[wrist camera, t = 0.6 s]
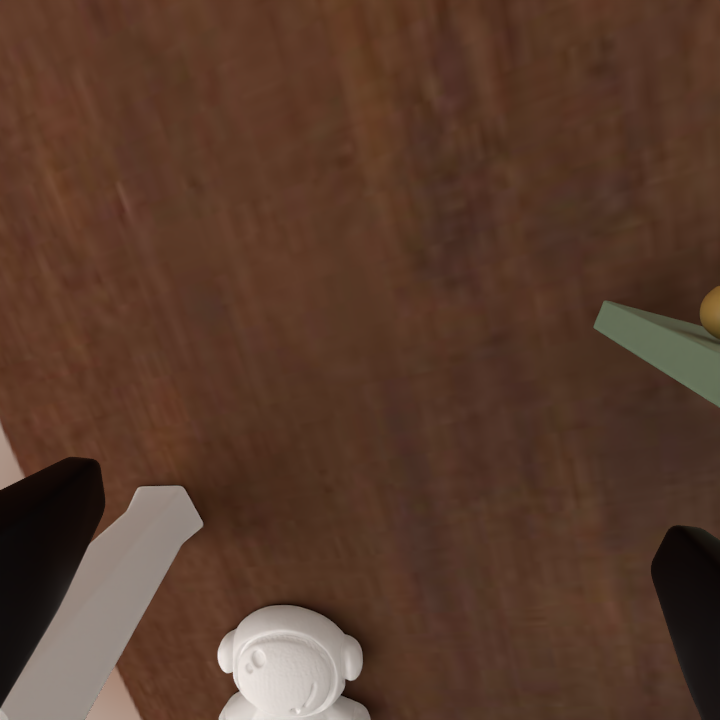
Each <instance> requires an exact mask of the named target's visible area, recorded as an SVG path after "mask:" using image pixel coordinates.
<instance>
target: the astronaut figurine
mask: <svg viewBox="0 0 720 720" xmlns="http://www.w3.org/2000/svg"><path fill="white" fill-rule="evenodd" d="M218 662H219V665H220V667H221V668H222V670H223V671H224V672H225V673H231V672H233V678H234V681H235V683H236V685H237V687H238V689H239V690H240V691H239V692H237V693H236V694H234V695H233V696H232V697H231V698H230V699H229V701H228V702H227V704H226V705H225V707H224V708H223V710H222V712H221V714H220V716H219V720H371V718H370V715H369V713H368V710H367V709H366V707H365V706H363V705H362V704H360V703H358V702H356V701H354V700H351V699H349V698H346V697H344V696H341V693H342V692H343V690H344V688H345V679H347V680H349V681H352V680H355V679H356V678H357V677H358V676H359V674H360V672H361V669H362V665H363V655H362V649H361V646H360V644H359V643H358V641H357V640H356V639H354V638H353V637H352V636H350V635H346V634H344V633H343V632H342V630H341V629H340V628H339V627H338V626H337V625H336V624H334V623H333V622H332V621H331V620H329V619H328V618H326V617H325V616H323V615H321V614H319V613H317V612H314V611H311V610H309V609H305V608H302V607H299V606H293V605H274V606H268V607H265V608H262V609H259V610H257V611H255V612H253V613H251V614H250V615H249V616H247V617H246V618H245V619H244V620H243V621H242V622H241V623H240V624H239V626H238V628H237V629H235V630H233V631H231V632H229V633H228V634H226V635H225V637H224V638H223V640H222V642H221V644H220V646H219V649H218Z"/></svg>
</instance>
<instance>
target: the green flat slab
mask: <svg viewBox="0 0 720 720" xmlns="http://www.w3.org/2000/svg"><path fill="white" fill-rule="evenodd" d="M700 320H701V323H702V325H703V326H699V325H696V324H692V323H688V322H684V321H681V320H677V319H673V318H669V317H666V316H662V315H658V314H655V313H651V312H647V311H643V310H640V309H636V308H632V307H628V306H625V305H621V304H617V303H614V302H610V301H604V302H603V305H602V307H601V309H600V312H599V314H598V317H597V319H596V322H595V324H594V327H593V328H594V329H596V330H597V331H599V332H601V333H602V334H604V335H605V336H607V337H609V338H610V339H612V340H613V341H615V342H616V343H618V344H620V345H621V346H623V347H624V348H626V349H628V350H629V351H631V352H632V353H634V354H636V355H637V356H639V357H640V358H642V359H643V360H645V361H647V362H648V363H650V364H651V365H653V366H655V367H656V368H658V369H659V370H661V371H663V372H664V373H666V374H667V375H669V376H670V377H672V378H674V379H675V380H677V381H678V382H680V383H682V384H683V385H685V386H686V387H688V388H690V389H691V390H693V391H694V392H696V393H697V394H699V395H701V396H702V397H704V398H705V399H707V400H709V401H710V402H712V403H713V404H715V405H717V406H718V407H720V285H719V286H717V287H716V288H714V289H713V290H711V291H710V292H709V293H708V294H707V295H706V297H705V298H704V300H703V301H702V304H701V307H700Z"/></svg>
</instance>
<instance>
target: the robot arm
mask: <svg viewBox="0 0 720 720" xmlns="http://www.w3.org/2000/svg"><path fill="white" fill-rule="evenodd" d="M104 508H105V494H104V488H103V481H102V474H101V468H100V465H99V463H98V462H97V461H96V460H94V459H89V458H80V457H68V458H66V459H63V460H61V461H59V462H57V463H55V464H53V465H51V466H49V467H47V468H45V469H43V470H41V471H39V472H37V473H35V474H32V475H30V476H28V477H26V478H24V479H22V480H20V481H18V482H16V483H14V484H12V485H10V486H8V487H6V488H4V489H2V490H0V708H1V706H2V705H3V703H4V701H5V700H6V698H7V696H8V695H9V693H10V691H11V689H12V688H13V686H14V684H15V683H16V681H17V679H18V678H19V676H20V674H21V673H22V671H23V669H24V667H25V666H26V664H27V662H28V661H29V659H30V657H31V656H32V654H33V652H34V651H35V649H36V647H37V646H38V644H39V642H40V640H41V639H42V637H43V635H44V634H45V632H46V630H47V629H48V627H49V625H50V623H51V622H52V620H53V618H54V616H55V615H56V613H57V611H58V609H59V607H60V605H61V603H62V601H63V599H64V597H65V595H66V593H67V591H68V589H69V587H70V585H71V582H72V580H73V578H74V576H75V574H76V572H77V569H78V567H79V565H80V563H81V561H82V559H83V556H84V554H85V552H86V550H87V548H88V546H89V544H90V541H91V539H92V537H93V535H94V533H95V531H96V528H97V526H98V524H99V522H100V520H101V518H102V515H103V512H104ZM651 575H652V579H653V583H654V586H655V589H656V592H657V595H658V598H659V601H660V604H661V608H662V611H663V614H664V617H665V620H666V623H667V626H668V629H669V632H670V636H671V639H672V642H673V645H674V648H675V651H676V654H677V657H678V661H679V663H680V666H681V669H682V672H683V675H684V678H685V680H686V683H687V685H688V688H689V690H690V693H691V695H692V697H693V700H694V702H695V704H696V707H697V709H698V712H699V714H700V716H701V719H702V720H720V540H719V539H717V538H716V537H714V536H713V535H711V534H710V533H708V532H707V531H705V530H703V529H701V528H697V527H689V526H680V525H676V526H673V527H671V528H670V529H669V530H668V531H667V533H666V535H665V537H664V539H663V541H662V543H661V545H660V547H659V549H658V551H657V553H656V555H655V557H654V558H653V561H652V565H651Z"/></svg>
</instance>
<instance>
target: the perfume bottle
mask: <svg viewBox="0 0 720 720" xmlns="http://www.w3.org/2000/svg"><path fill="white" fill-rule="evenodd" d="M202 527H203V521H202V520H201V518H200V516H199V514H198V512H197V510H196V509H195V507H194V505H193V503H192V501H191V499H190V498H189V496H188V494H187V492H186V490H185V489H184V488H183V487H182V486H142V487H138V488H137V490H136V492H135V495H134V497H133V499H132V501H131V503H130V505H129V507H128V510H127V511H126V512H125V513H124V514H123V515H122V516H121V517H119V518H118V519H117V520H116V521H115V522H114V523H113V524H112V525H110V526H109V527H108V528H107V529H106V530H105V531H104V532H102V533H101V534H100V535H99V536H98V537H97V538H96V539H95V540H93V541H92V542H91V543H90V544H89V546H88V548H87V550H86V552H85V554H84V556H83V559H82V561H81V563H80V565H79V567H78V569H77V572H76V574H75V576H74V578H73V580H72V582H71V585H70V587H69V589H68V591H67V593H66V595H65V597H64V599H63V601H62V603H61V605H60V607H59V609H58V611H57V613H56V615H55V616H54V618H53V620H52V622H51V623H50V625H49V627H48V629H47V630H46V632H45V634H44V635H43V637H42V639H41V640H40V642H39V644H38V646H37V647H36V649H35V651H34V652H33V654H32V656H31V657H30V659H29V661H28V662H27V664H26V666H25V667H24V669H23V671H22V673H21V674H20V676H19V678H18V679H17V681H16V683H15V684H14V686H13V688H12V689H11V691H10V693H9V695H8V696H7V698H6V700H5V701H4V703H3V705H2V706H1V708H0V720H85V718H86V717H87V715H88V713H89V711H90V709H91V708H92V706H93V704H94V702H95V700H96V698H97V697H98V695H99V693H100V691H101V690H102V688H103V686H104V684H105V682H106V681H107V679H108V677H109V675H110V673H111V671H112V670H113V668H114V666H115V664H116V663H117V661H118V659H119V657H120V655H121V654H122V652H123V650H124V648H125V646H126V645H127V643H128V641H129V639H130V637H131V636H132V634H133V632H134V630H135V628H136V627H137V625H138V623H139V621H140V619H141V618H142V616H143V614H144V612H145V610H146V608H147V607H148V605H149V603H150V601H151V599H152V598H153V596H154V594H155V592H156V590H157V589H158V587H159V585H160V583H161V581H162V580H163V578H164V576H165V574H166V572H167V571H168V569H169V567H170V565H171V563H172V562H173V560H174V558H175V556H176V554H177V553H178V551H179V549H180V547H181V545H182V544H183V543H184V542H185V541H186V540H188V539H189V538H190V537H191V536H192V535H194V534H195V533H196V532H197V531H198V530H200V529H201V528H202Z"/></svg>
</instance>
